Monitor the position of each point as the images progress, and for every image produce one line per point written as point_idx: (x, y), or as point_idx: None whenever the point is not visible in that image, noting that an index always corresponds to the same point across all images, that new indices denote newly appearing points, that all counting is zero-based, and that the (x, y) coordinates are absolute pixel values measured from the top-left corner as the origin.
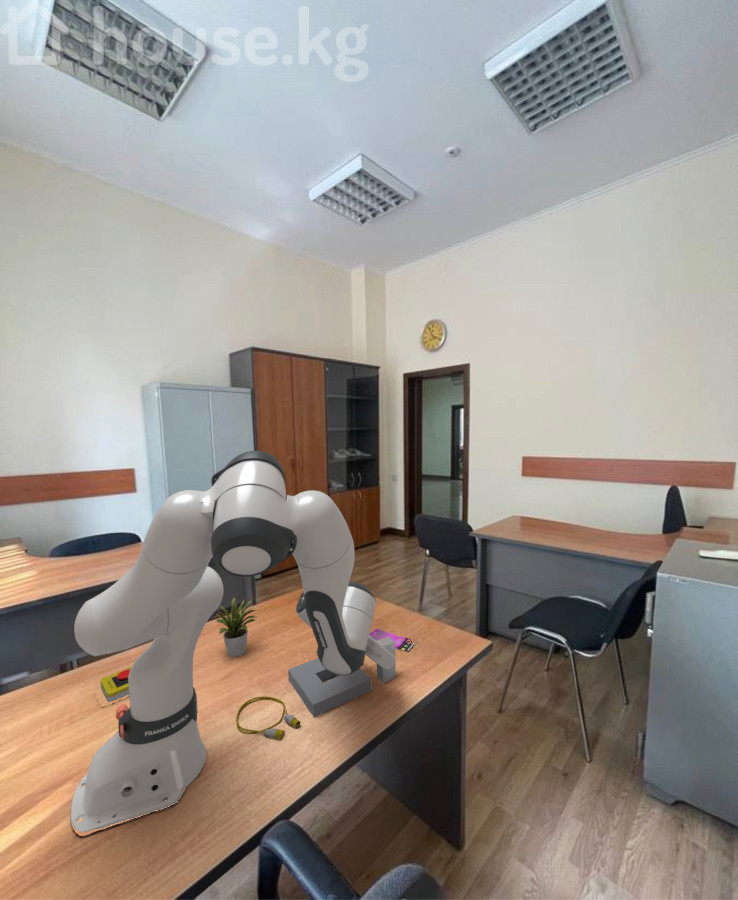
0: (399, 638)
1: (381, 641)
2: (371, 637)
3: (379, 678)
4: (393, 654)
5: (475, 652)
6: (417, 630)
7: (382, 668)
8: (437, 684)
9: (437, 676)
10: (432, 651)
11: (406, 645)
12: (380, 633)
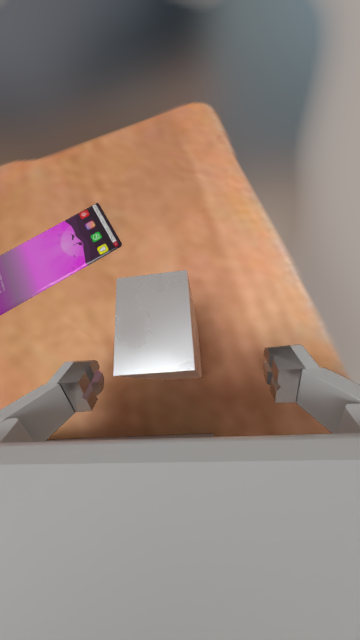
0: (58, 235)
1: (137, 342)
2: (225, 619)
3: (180, 379)
4: (193, 309)
5: (213, 121)
6: (61, 184)
7: (197, 376)
8: (280, 246)
9: (250, 230)
10: (155, 193)
11: (94, 234)
12: (5, 268)
